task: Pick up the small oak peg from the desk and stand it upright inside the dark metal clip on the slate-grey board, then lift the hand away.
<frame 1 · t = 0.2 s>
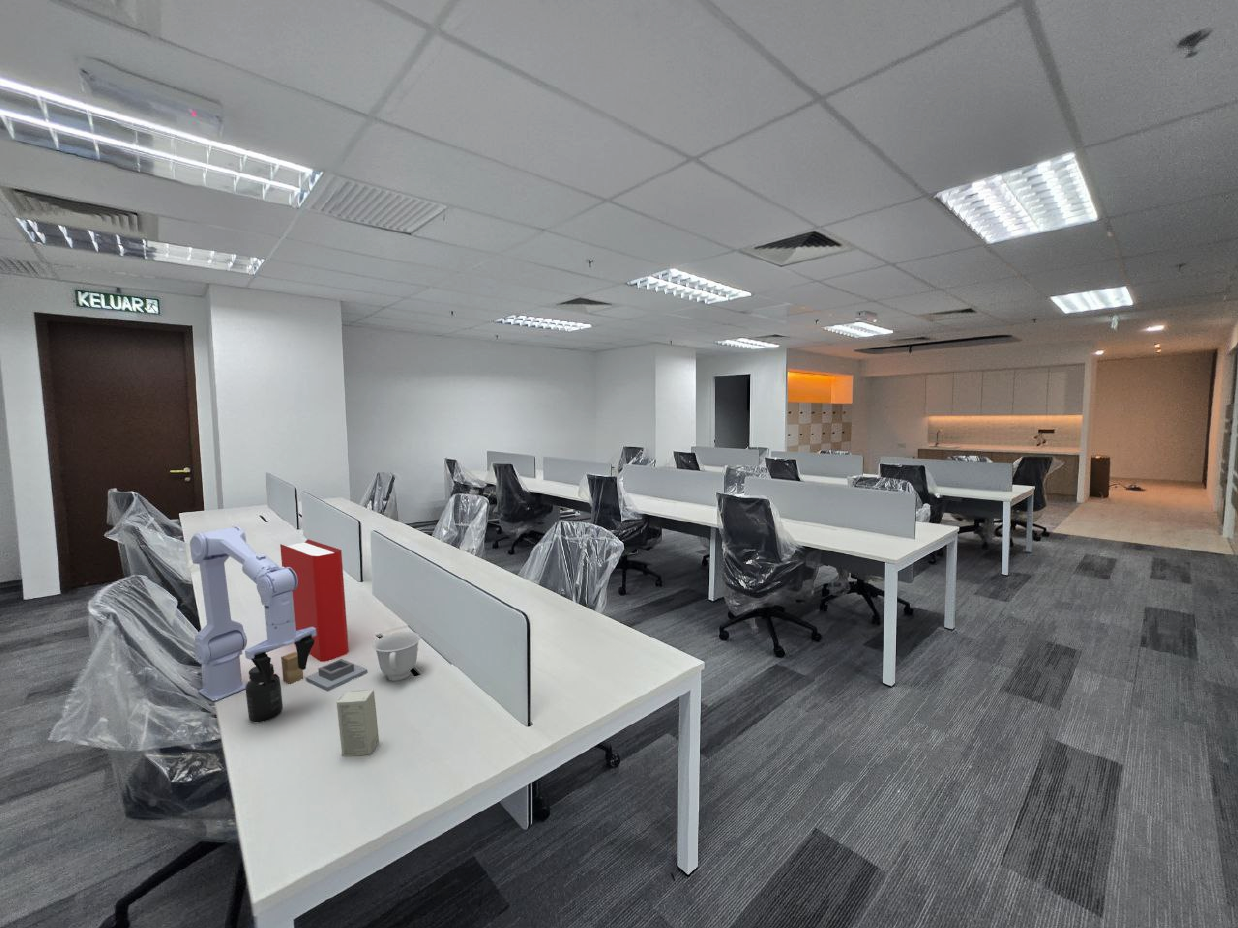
hand: (285, 675, 119), 10 cm above the table, tool pointing down, fingers open, 7 cm apart
supplement bottle: (266, 715, 121), on the table
book: (318, 646, 158), on the table
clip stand: (336, 676, 138), on the table
oak peg: (293, 679, 137), on the table
skincare box: (360, 750, 107), on the table
teacup: (398, 678, 137), on the table
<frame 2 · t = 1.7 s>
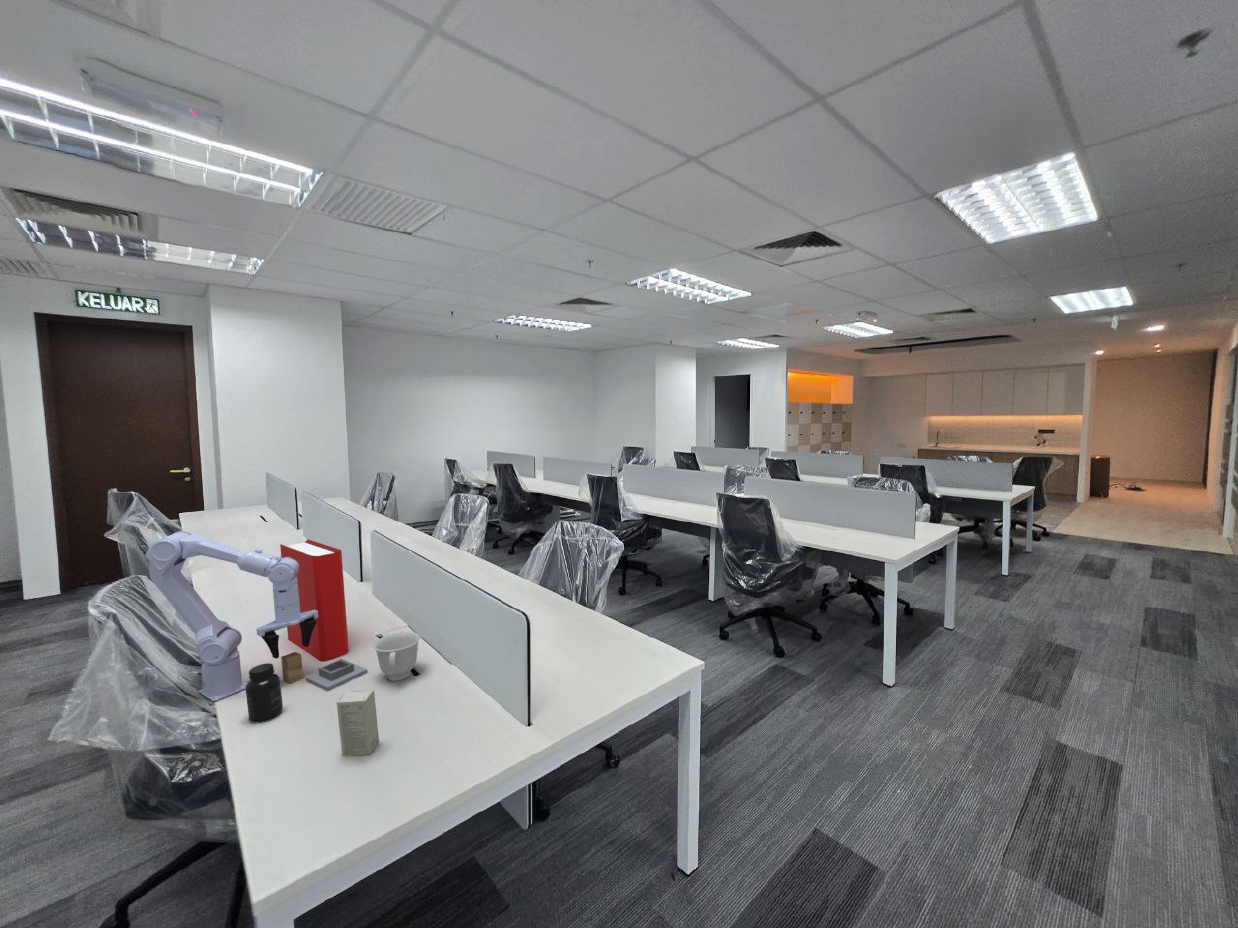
hand: (291, 651, 136), 8 cm above the table, tool pointing down, fingers open, 7 cm apart
nothing on the table moved.
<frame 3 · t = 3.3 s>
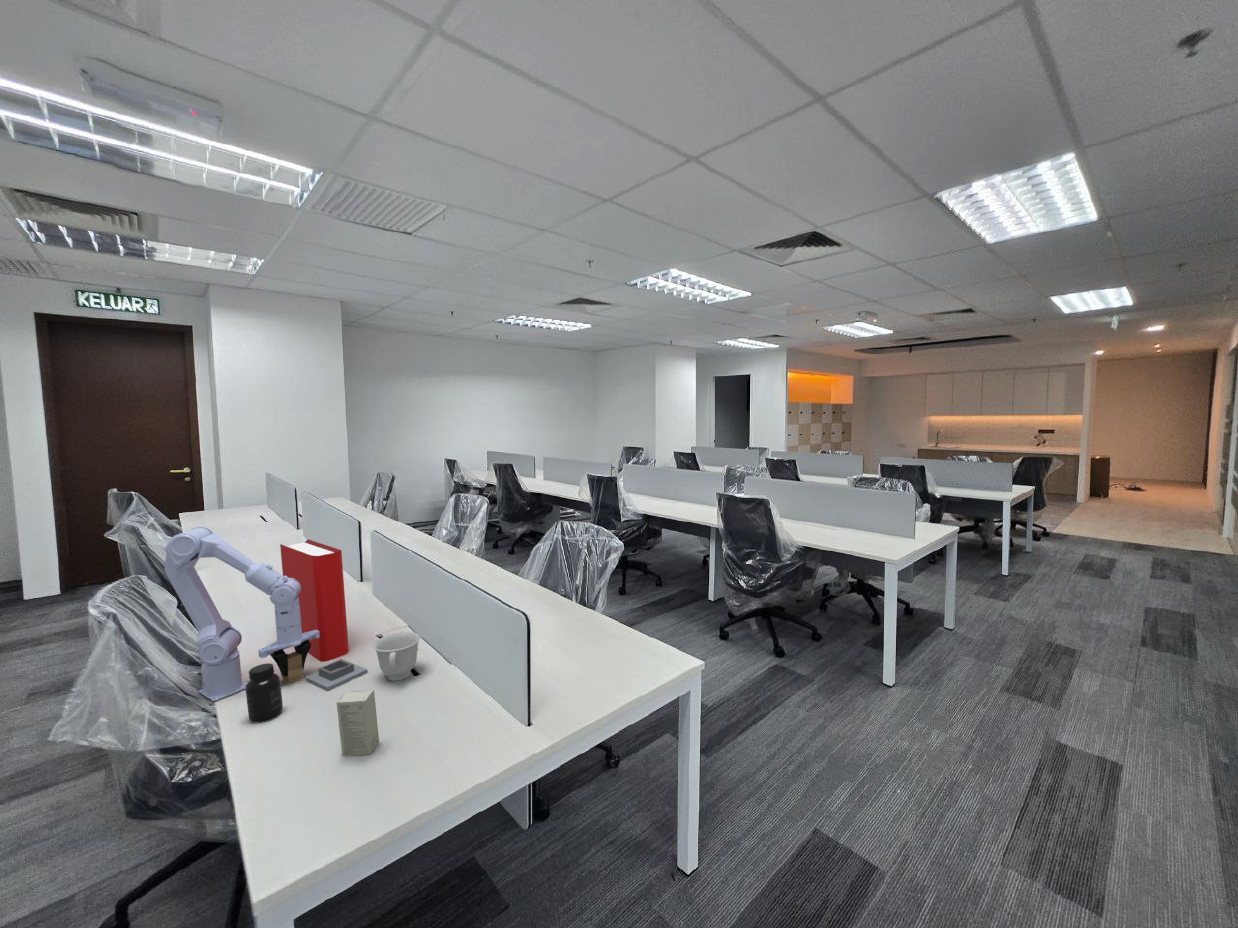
hand: (292, 672, 137), 2 cm above the table, tool pointing down, fingers closed on oak peg, 3 cm apart
oak peg: (293, 679, 137), on the table, touching gripper
everything else where it was.
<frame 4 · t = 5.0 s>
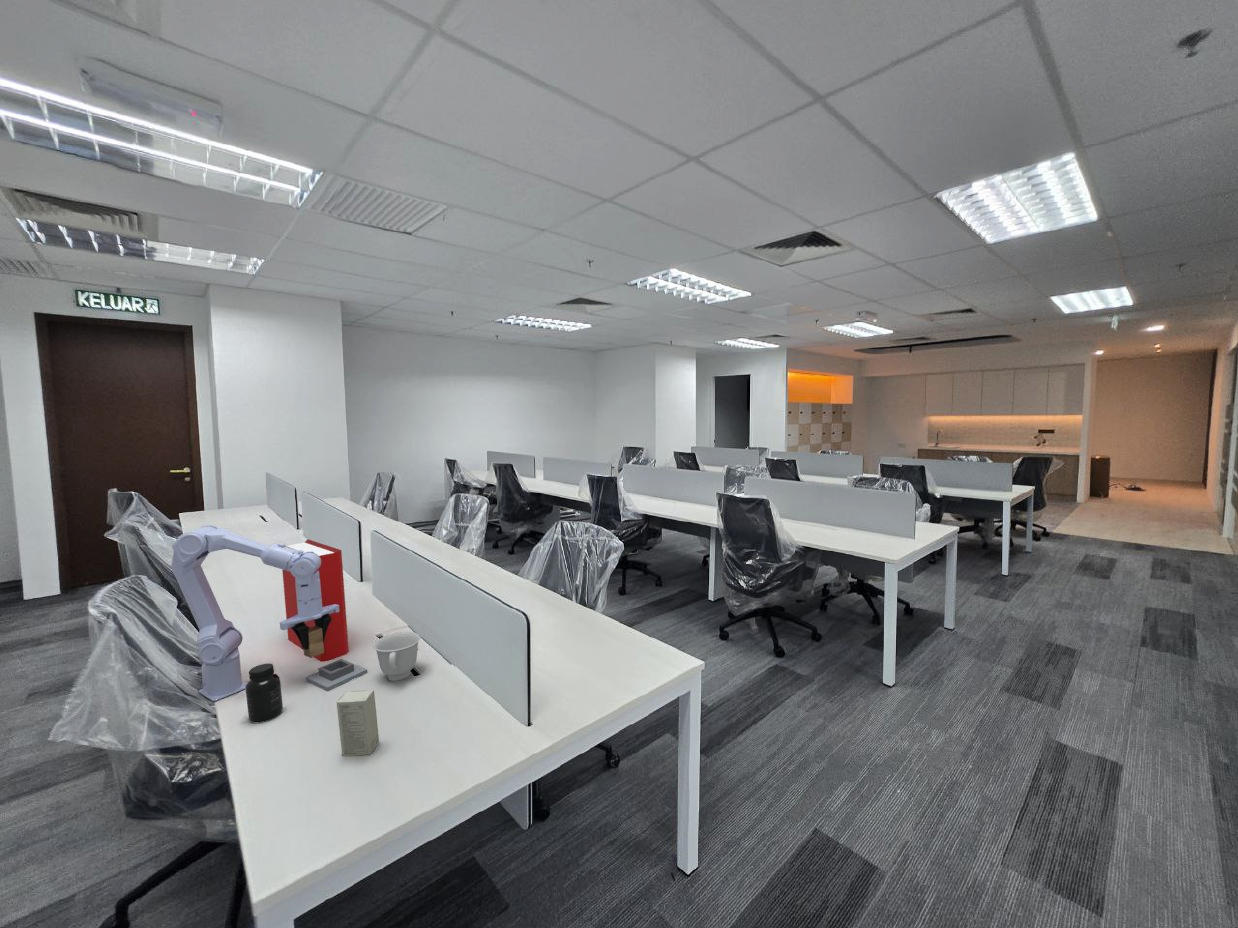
hand: (313, 645, 137), 9 cm above the table, tool pointing down, fingers closed on oak peg, 3 cm apart
oak peg: (314, 653, 137), point 7 cm above the table, touching gripper
everything else where it was.
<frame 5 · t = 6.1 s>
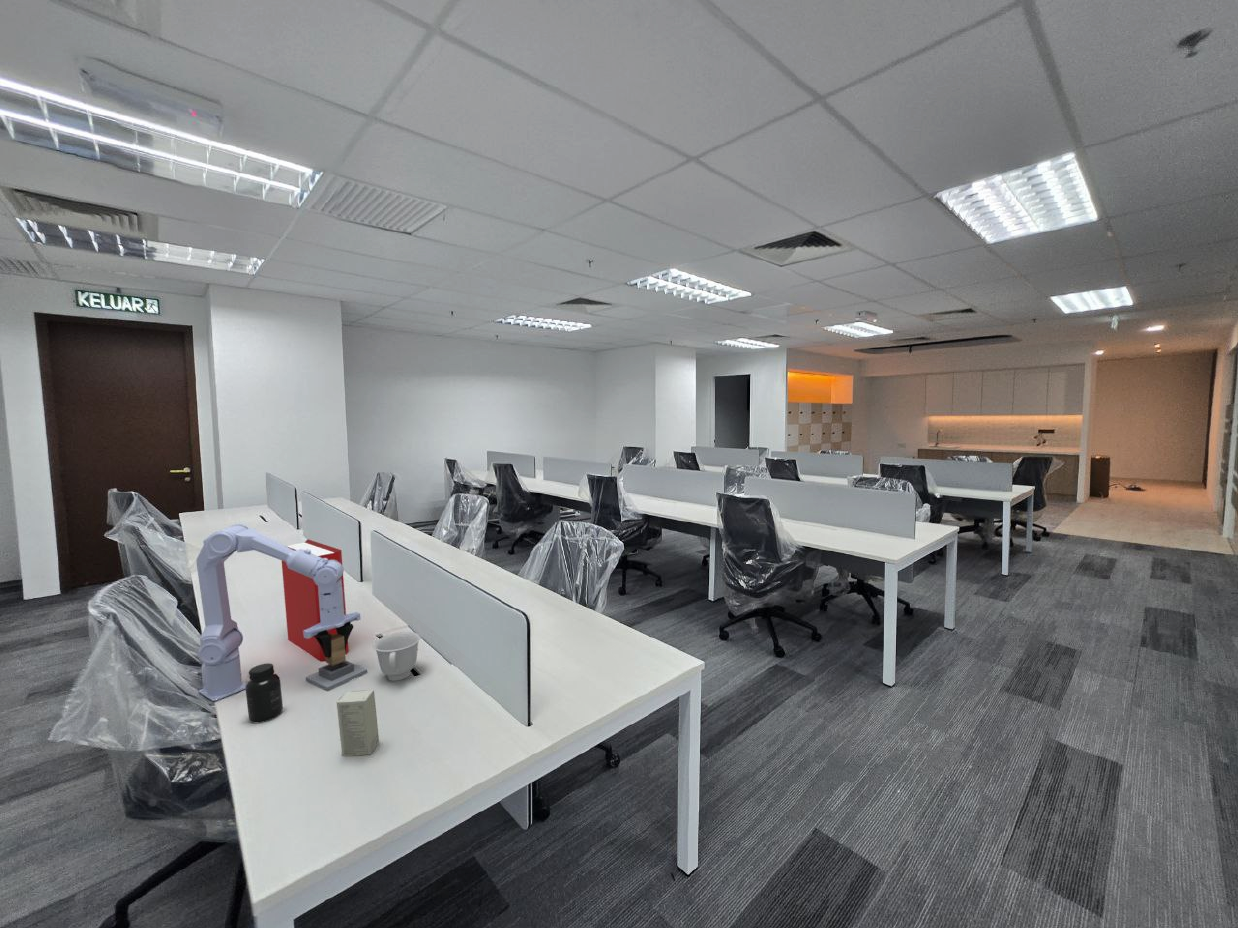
hand: (335, 653, 138), 7 cm above the table, tool pointing down, fingers closed on oak peg, 3 cm apart
oak peg: (336, 661, 138), point 4 cm above the table, touching gripper
everything else where it was.
when the fingers open (4 cm above the table, at t = 6.9 s): oak peg drops 1 cm, resting on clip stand.
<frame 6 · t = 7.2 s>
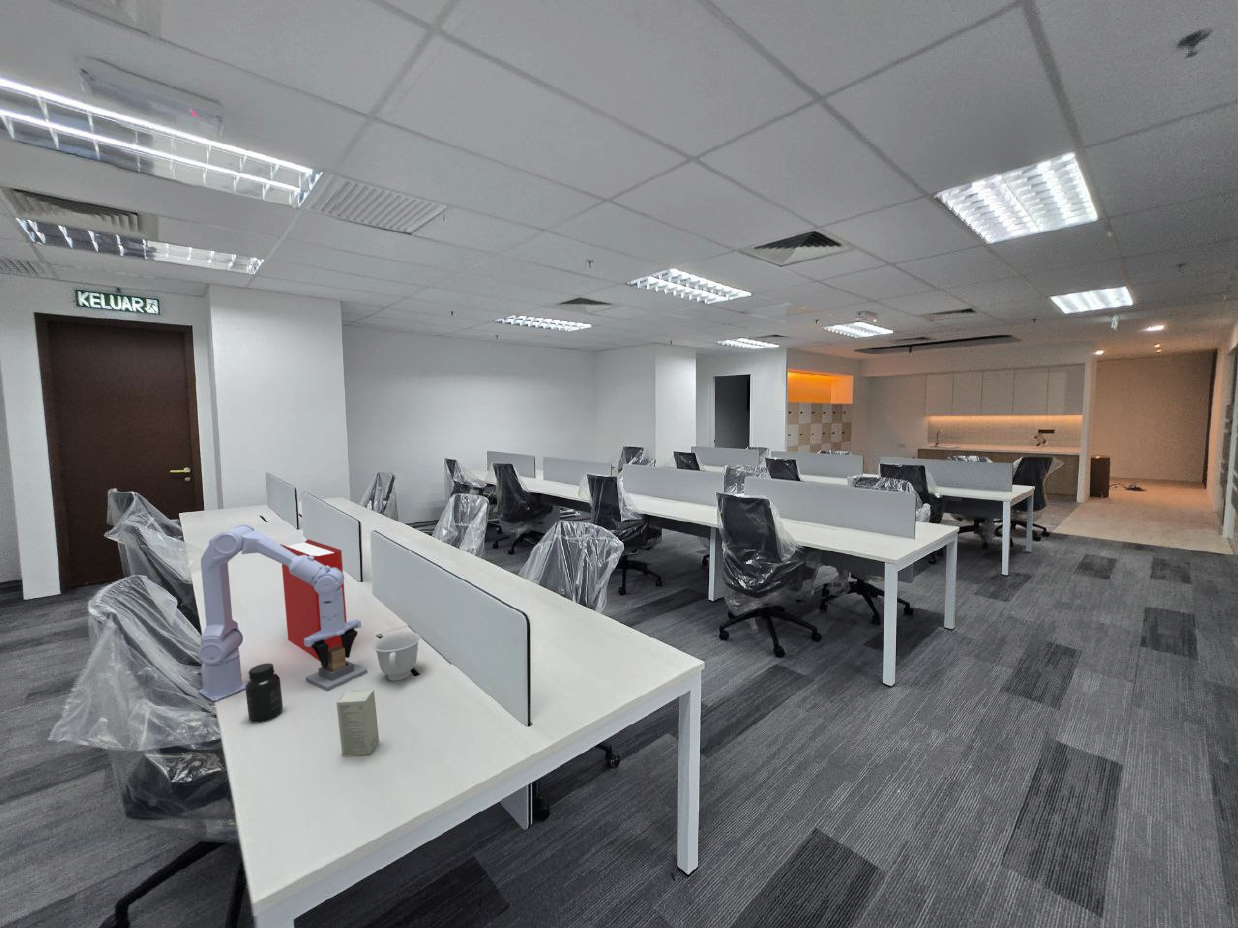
hand: (335, 661, 138), 4 cm above the table, tool pointing down, fingers open, 5 cm apart
oak peg: (336, 673, 138), point 1 cm above the table, touching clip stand
everything else where it was.
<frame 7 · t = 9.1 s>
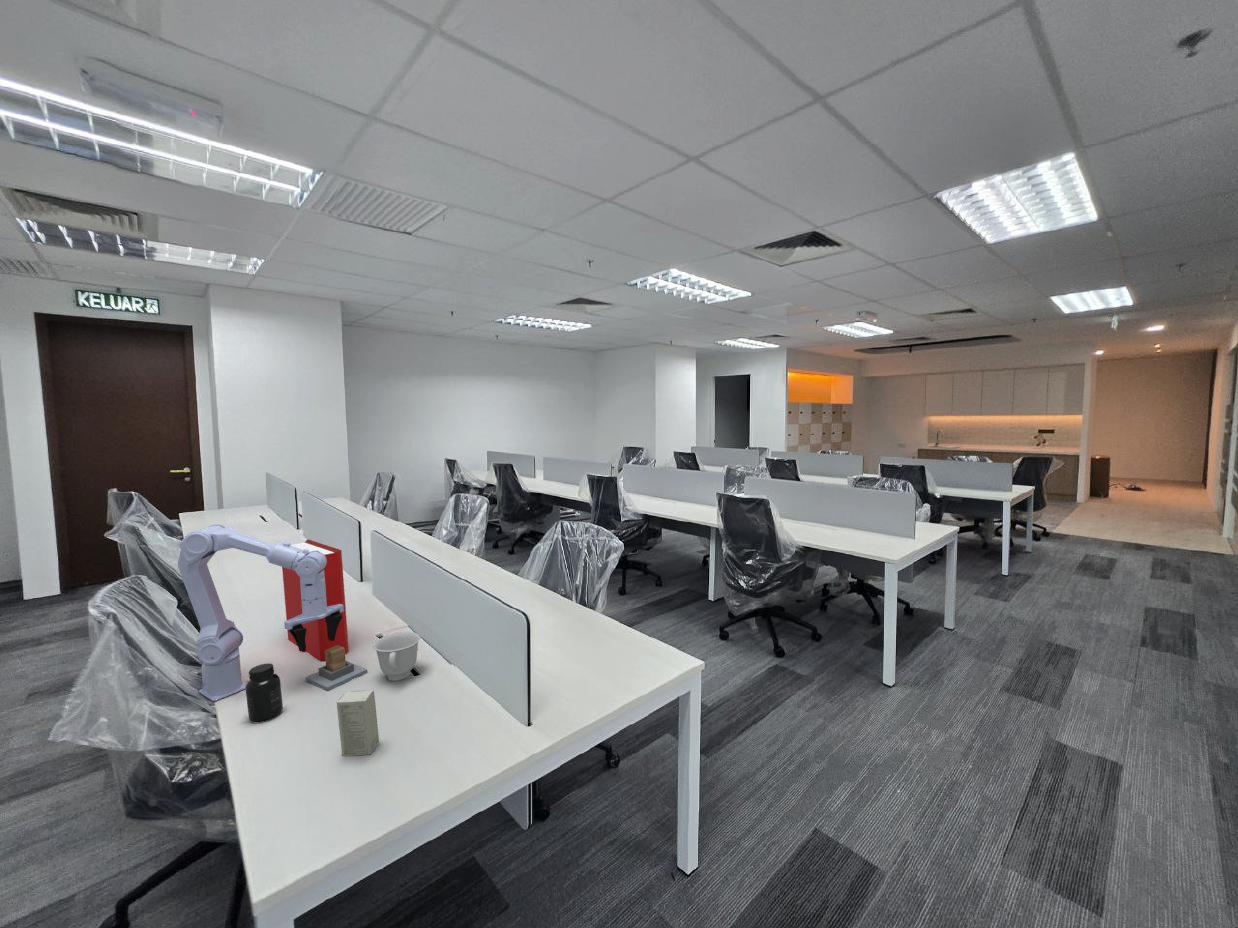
hand: (317, 645, 136), 10 cm above the table, tool pointing down, fingers open, 7 cm apart
nothing on the table moved.
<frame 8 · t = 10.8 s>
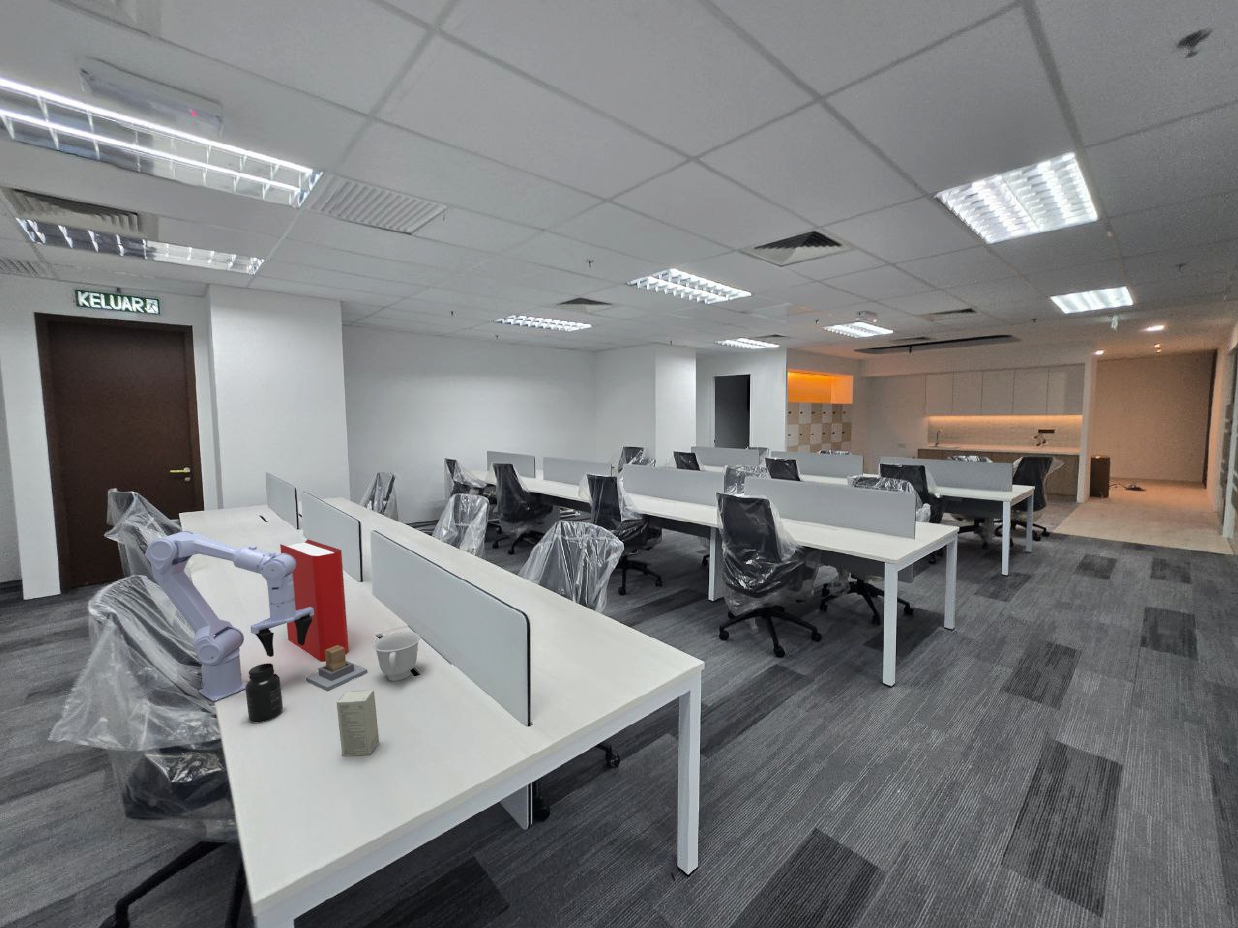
hand: (286, 649, 134), 10 cm above the table, tool pointing down, fingers open, 7 cm apart
nothing on the table moved.
at the end: oak peg 0.0 cm off-centre on the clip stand, point 1.0 cm above the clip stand's base; oak peg tilted 0°; the gripper is holding nothing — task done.
